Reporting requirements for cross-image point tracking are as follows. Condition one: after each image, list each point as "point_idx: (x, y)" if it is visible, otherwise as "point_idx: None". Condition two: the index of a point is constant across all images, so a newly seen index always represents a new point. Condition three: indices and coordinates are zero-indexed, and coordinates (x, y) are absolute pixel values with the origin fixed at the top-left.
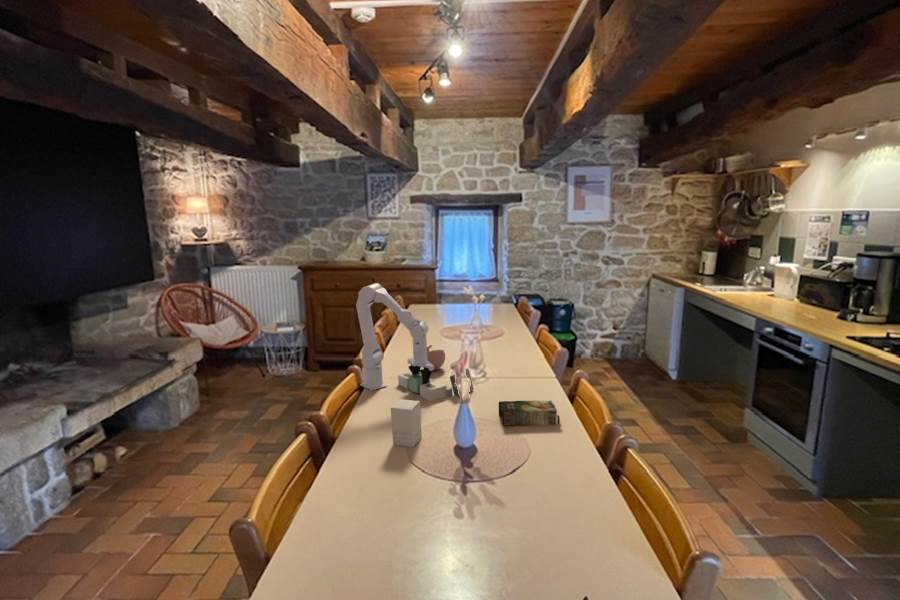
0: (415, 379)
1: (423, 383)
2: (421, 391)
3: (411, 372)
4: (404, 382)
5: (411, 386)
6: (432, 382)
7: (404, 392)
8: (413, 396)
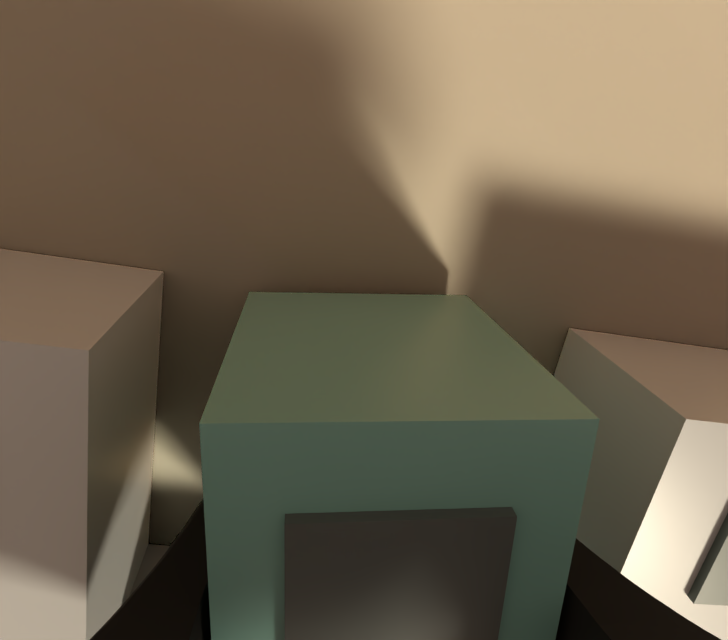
0: (257, 417)
1: None
2: (72, 296)
3: (686, 624)
4: (698, 378)
5: (428, 323)
6: (52, 637)
7: (508, 205)
8: (241, 183)
